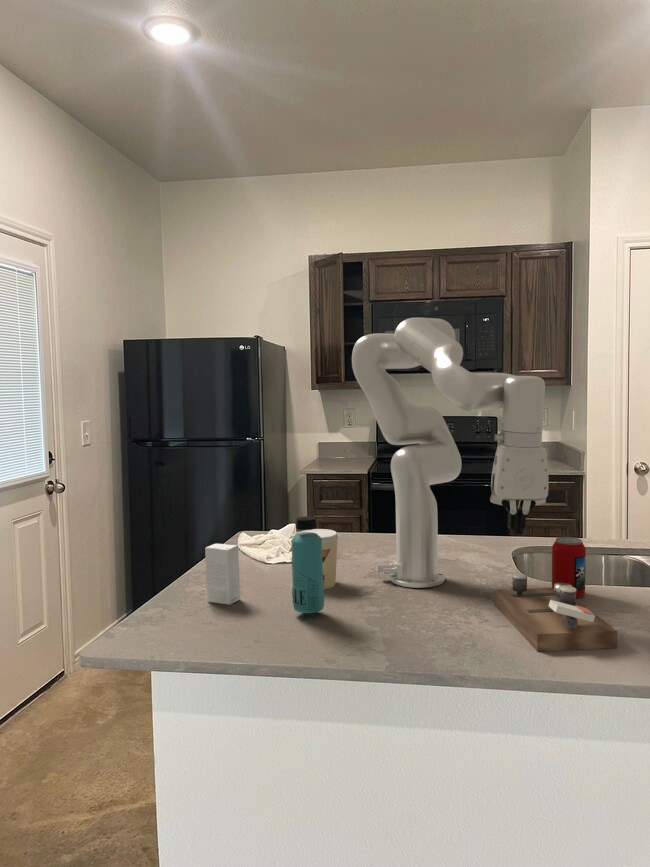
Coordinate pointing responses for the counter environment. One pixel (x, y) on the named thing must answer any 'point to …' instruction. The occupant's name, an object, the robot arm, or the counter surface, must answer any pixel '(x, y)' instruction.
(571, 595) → the lever ivory
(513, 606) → the console
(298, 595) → the beverage bottle
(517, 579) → the lever grey
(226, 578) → the skincare box
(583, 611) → the block
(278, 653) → the counter surface
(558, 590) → the button
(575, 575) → the beverage can
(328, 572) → the coffee cup
